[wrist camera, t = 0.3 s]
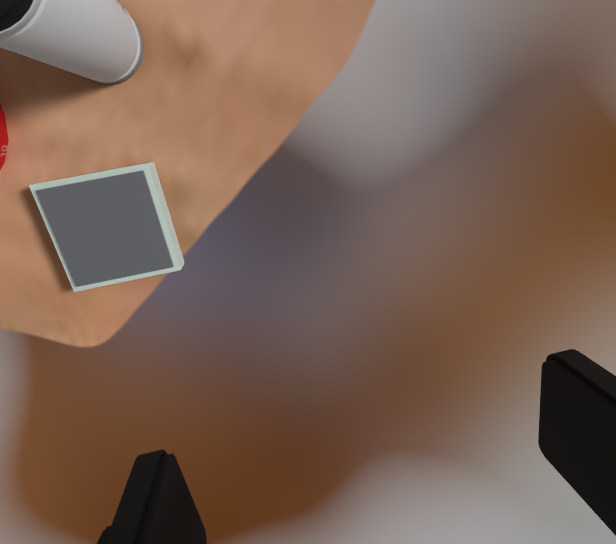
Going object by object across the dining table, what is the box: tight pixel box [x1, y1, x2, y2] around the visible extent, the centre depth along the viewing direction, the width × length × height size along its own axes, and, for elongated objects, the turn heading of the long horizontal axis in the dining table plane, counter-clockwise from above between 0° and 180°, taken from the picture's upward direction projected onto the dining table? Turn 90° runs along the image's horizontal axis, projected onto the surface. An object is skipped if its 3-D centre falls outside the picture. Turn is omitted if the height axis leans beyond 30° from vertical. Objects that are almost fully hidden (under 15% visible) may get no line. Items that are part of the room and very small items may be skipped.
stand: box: [29, 162, 184, 292], centre depth 35 cm, size 10×10×2 cm
